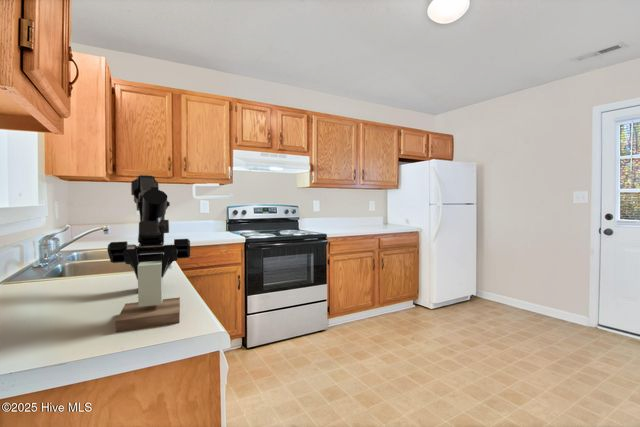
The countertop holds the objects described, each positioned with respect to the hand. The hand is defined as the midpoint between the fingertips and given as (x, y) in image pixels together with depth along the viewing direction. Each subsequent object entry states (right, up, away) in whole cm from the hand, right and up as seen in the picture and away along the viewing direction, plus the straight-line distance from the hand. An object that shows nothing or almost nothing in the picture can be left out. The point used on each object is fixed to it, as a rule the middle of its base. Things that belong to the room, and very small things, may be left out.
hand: (150, 277), depth 76 cm
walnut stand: (-1, -10, +2) cm, 11 cm away
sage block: (-1, -7, +2) cm, 7 cm away
